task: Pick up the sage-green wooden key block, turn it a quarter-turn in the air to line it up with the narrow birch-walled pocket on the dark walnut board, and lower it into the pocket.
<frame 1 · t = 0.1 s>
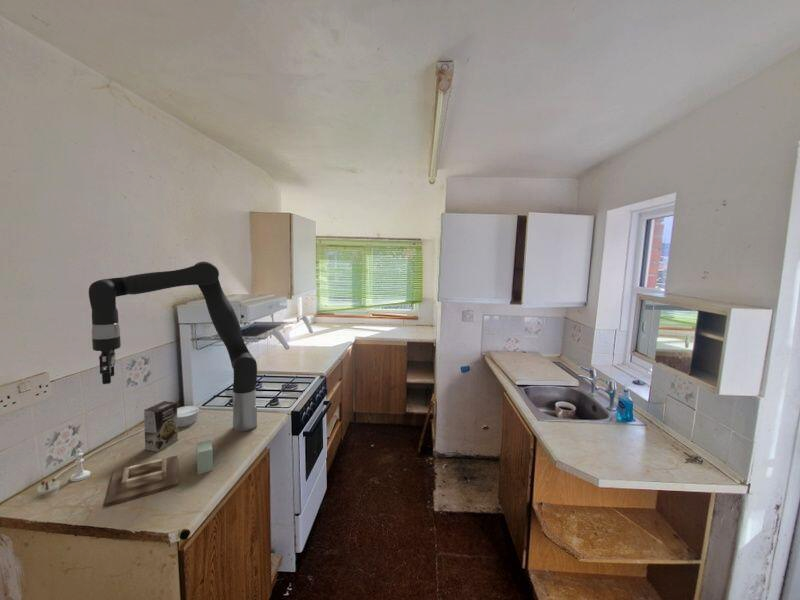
hand: (108, 379, 120), 29 cm above the table, tool pointing down, fingers open, 8 cm apart
key block: (204, 467, 119), on the table
coffee box: (162, 445, 131), on the table
chess piece: (80, 477, 111), on the table
ramekin: (185, 422, 150), on the table
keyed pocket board: (145, 479, 111), on the table
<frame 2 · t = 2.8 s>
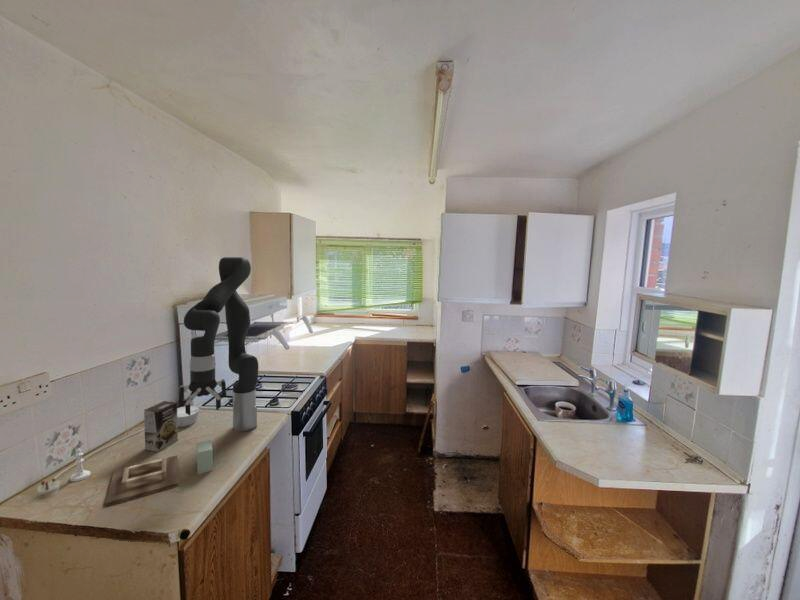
hand: (203, 411, 117), 21 cm above the table, tool pointing down, fingers open, 8 cm apart
nothing on the table moved.
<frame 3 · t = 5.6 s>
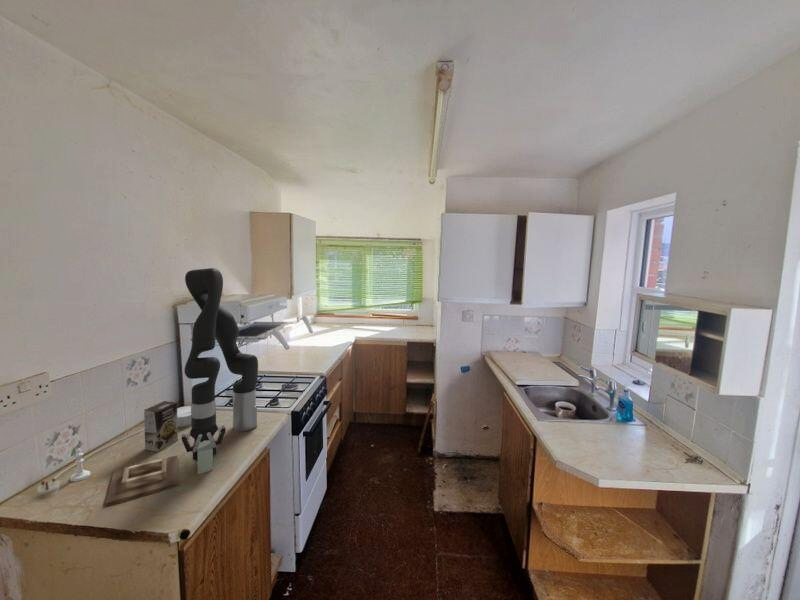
hand: (204, 458, 119), 3 cm above the table, tool pointing down, fingers closed on key block, 4 cm apart
key block: (204, 466, 119), on the table, touching gripper
everything else where it was.
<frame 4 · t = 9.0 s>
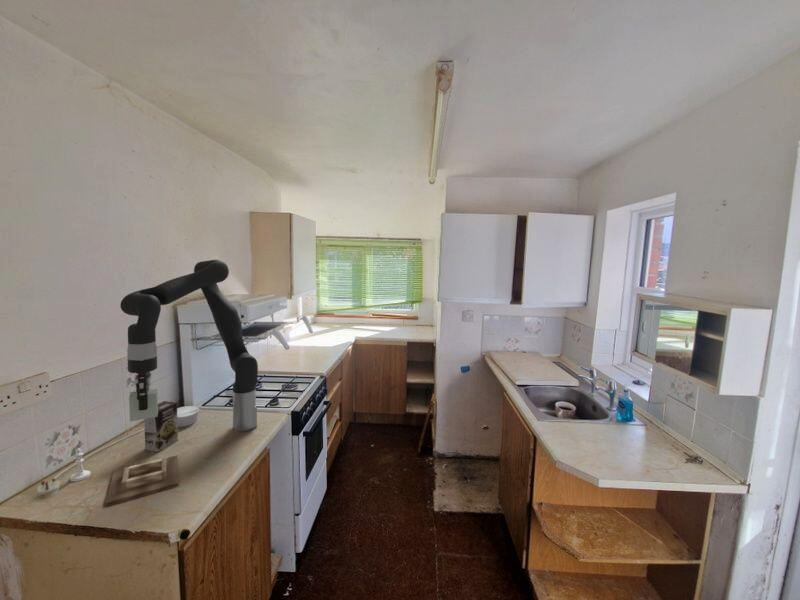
hand: (144, 406, 108), 26 cm above the table, tool pointing down, fingers closed on key block, 4 cm apart
key block: (144, 416, 109), point 22 cm above the table, touching gripper
everything else where it was.
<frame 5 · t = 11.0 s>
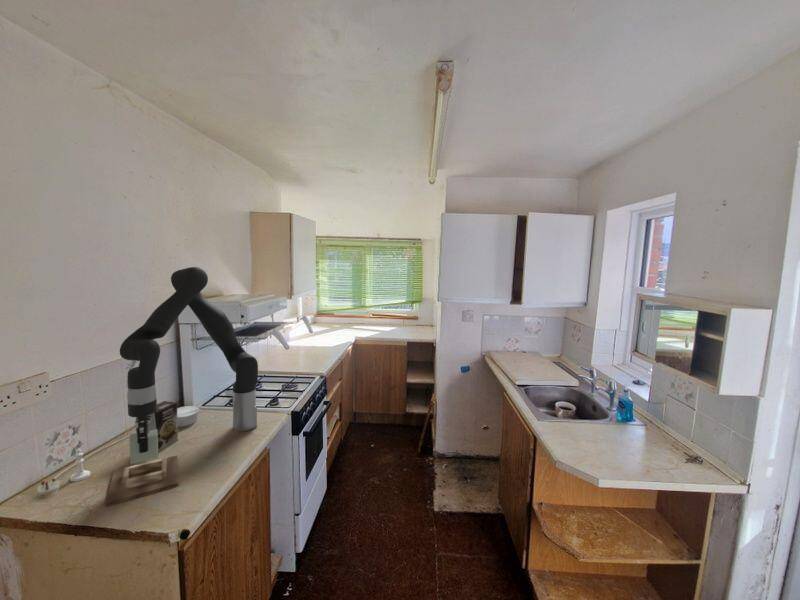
hand: (144, 447, 110), 11 cm above the table, tool pointing down, fingers closed on key block, 4 cm apart
key block: (144, 457, 110), point 8 cm above the table, touching gripper
everything else where it was.
when the fingers open (6 cm above the table, at t = 12.5 s): key block drops 1 cm, resting on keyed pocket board.
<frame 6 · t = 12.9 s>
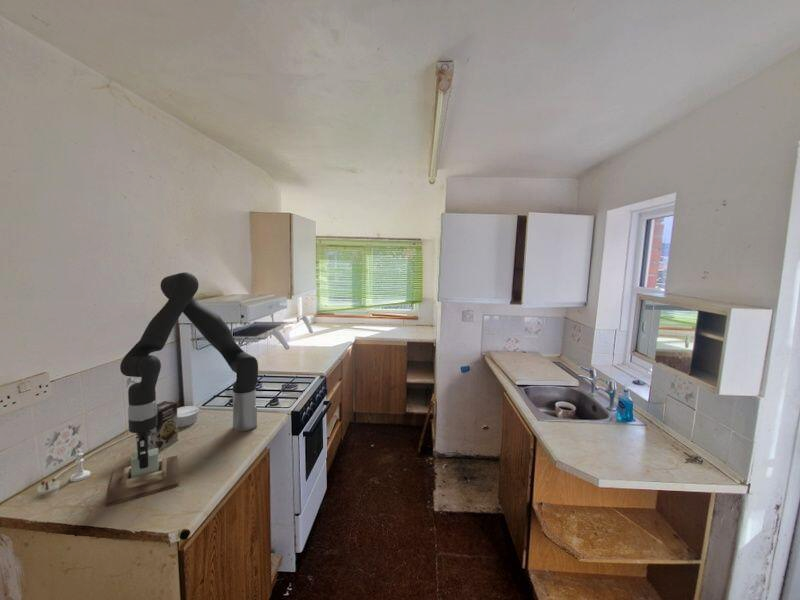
hand: (144, 461, 110), 7 cm above the table, tool pointing down, fingers open, 8 cm apart
key block: (145, 476, 111), point 1 cm above the table, touching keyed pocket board
everything else where it was.
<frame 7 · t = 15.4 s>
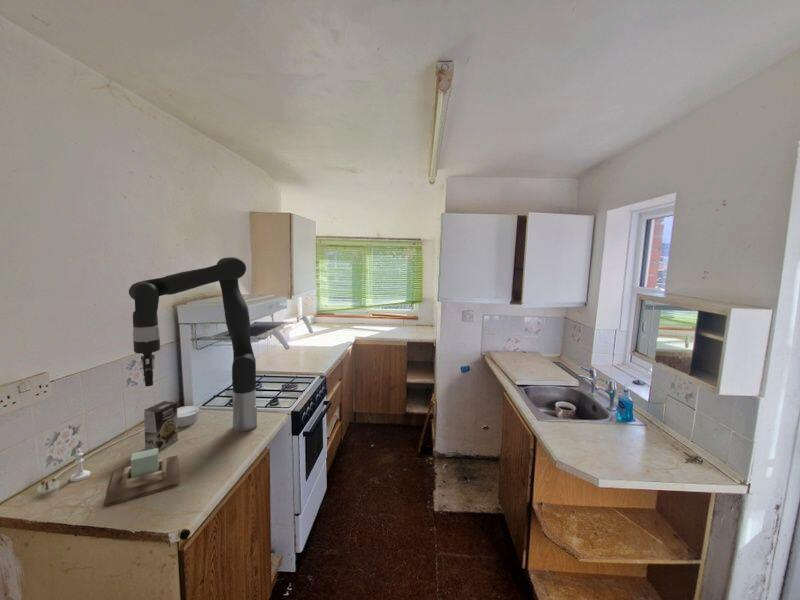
hand: (149, 381, 120), 29 cm above the table, tool pointing down, fingers open, 8 cm apart
nothing on the table moved.
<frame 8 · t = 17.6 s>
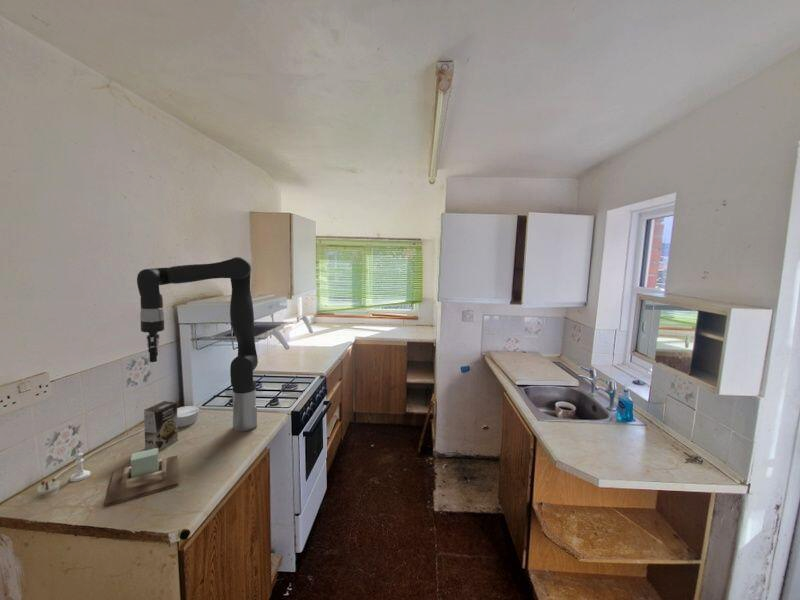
hand: (153, 358, 133), 33 cm above the table, tool pointing down, fingers open, 8 cm apart
nothing on the table moved.
at the end: key block 0.1 cm off-centre on the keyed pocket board, point 1.0 cm above the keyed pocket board's base; key block tilted 0°; the gripper is holding nothing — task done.
